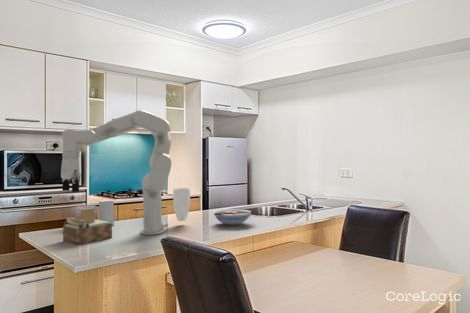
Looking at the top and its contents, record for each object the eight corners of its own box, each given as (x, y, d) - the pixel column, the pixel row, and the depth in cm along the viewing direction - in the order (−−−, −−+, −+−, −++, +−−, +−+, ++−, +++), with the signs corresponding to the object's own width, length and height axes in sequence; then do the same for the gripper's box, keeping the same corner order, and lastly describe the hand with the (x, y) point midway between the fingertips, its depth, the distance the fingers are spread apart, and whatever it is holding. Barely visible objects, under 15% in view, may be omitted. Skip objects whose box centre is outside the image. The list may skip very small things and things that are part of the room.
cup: (169, 226, 208) (169, 189, 208) (178, 223, 218) (178, 187, 218) (185, 227, 204) (184, 189, 204) (193, 224, 214) (193, 188, 214)
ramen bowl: (245, 219, 228) (245, 207, 228) (259, 226, 206) (259, 212, 206) (207, 222, 220) (207, 209, 220) (217, 229, 198) (217, 214, 198)
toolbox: (96, 234, 187) (95, 217, 187) (112, 238, 178) (112, 219, 178) (62, 241, 172) (62, 222, 172) (78, 245, 164) (78, 225, 164)
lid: (96, 221, 185) (96, 205, 185) (109, 223, 178) (109, 207, 178) (65, 226, 172) (65, 209, 172) (78, 229, 165) (78, 212, 165)
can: (99, 225, 212) (99, 204, 212) (95, 228, 201) (95, 207, 201) (79, 225, 210) (79, 205, 210) (73, 229, 199) (73, 208, 199)
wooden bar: (70, 222, 175) (69, 217, 175) (86, 225, 167) (86, 220, 167) (66, 222, 174) (66, 217, 174) (82, 226, 166) (82, 220, 166)
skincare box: (114, 223, 216) (113, 199, 216) (114, 225, 210) (114, 200, 210) (99, 224, 213) (99, 199, 213) (98, 226, 207) (98, 201, 207)
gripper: (55, 155, 176) (54, 190, 175) (71, 155, 164) (71, 192, 164) (70, 155, 181) (69, 189, 181) (87, 155, 170) (87, 191, 170)
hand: (70, 191), depth 173 cm, fingers open, 9 cm apart
